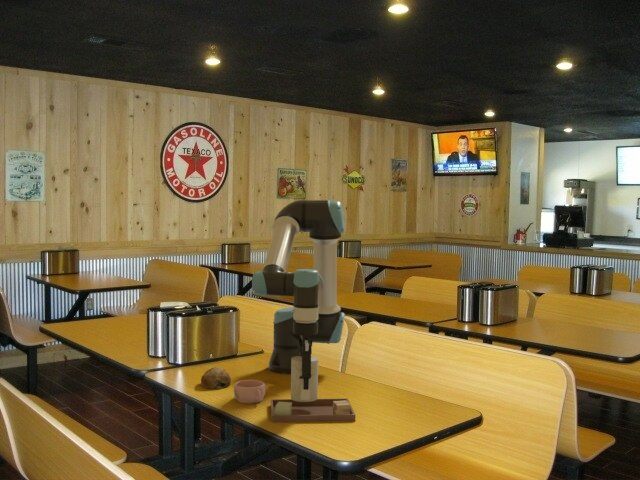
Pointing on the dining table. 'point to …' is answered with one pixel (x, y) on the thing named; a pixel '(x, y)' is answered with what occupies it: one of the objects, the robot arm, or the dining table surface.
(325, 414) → the tray
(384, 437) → the dining table surface
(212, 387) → the bread roll
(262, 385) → the mug
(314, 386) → the cup
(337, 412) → the maple block
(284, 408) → the sage block
